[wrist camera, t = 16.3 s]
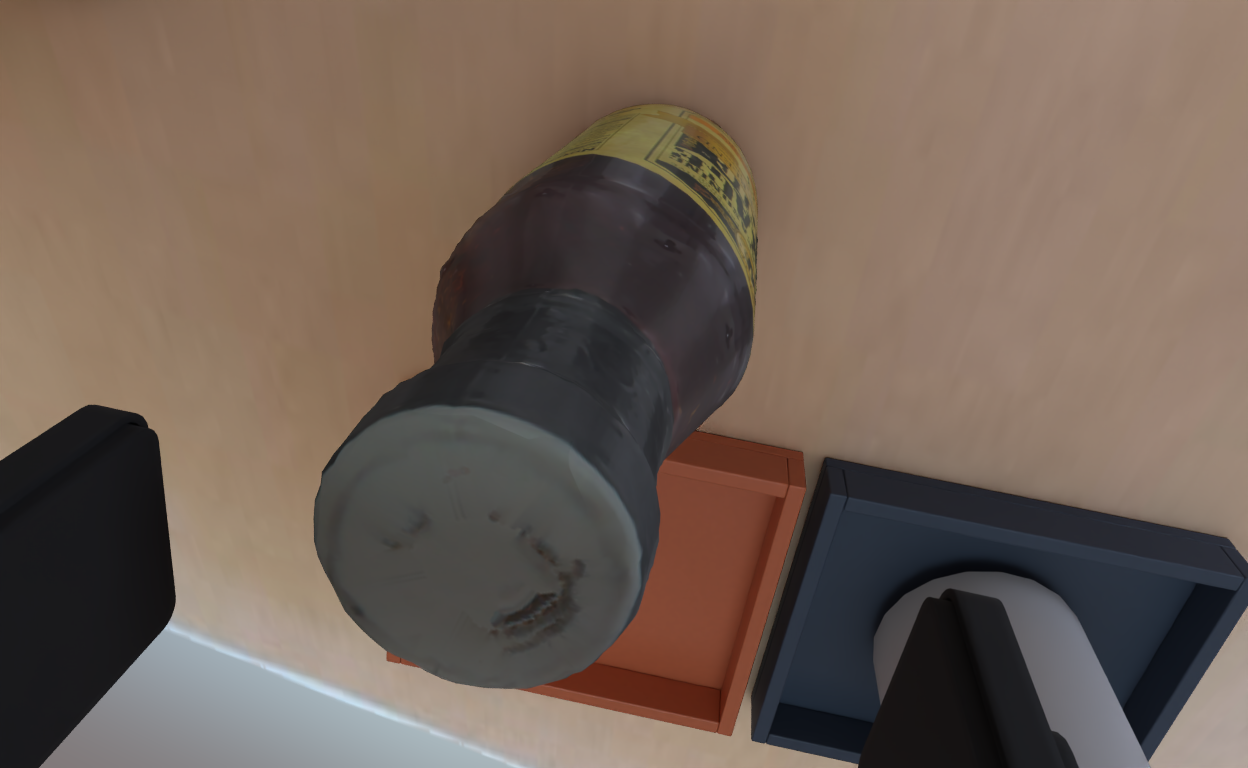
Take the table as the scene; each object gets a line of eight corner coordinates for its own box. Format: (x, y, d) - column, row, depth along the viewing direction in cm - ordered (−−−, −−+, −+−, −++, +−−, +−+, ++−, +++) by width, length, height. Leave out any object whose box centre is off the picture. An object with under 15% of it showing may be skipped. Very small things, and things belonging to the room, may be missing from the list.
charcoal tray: (751, 695, 37) (750, 741, 35) (825, 456, 31) (830, 493, 29) (1090, 769, 36) (1111, 820, 34) (1228, 538, 30) (1264, 581, 28)
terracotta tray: (406, 621, 37) (385, 661, 35) (419, 374, 32) (395, 404, 30) (732, 691, 37) (731, 737, 35) (803, 452, 31) (806, 488, 29)
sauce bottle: (770, 271, 28) (795, 788, 11) (588, 299, 30) (344, 802, 12) (739, 64, 26) (707, 300, 8) (541, 106, 27) (138, 386, 9)
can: (1003, 730, 35) (1113, 1070, 24) (835, 663, 35) (871, 979, 24) (1118, 602, 31) (1304, 932, 21) (932, 526, 31) (1026, 822, 20)
